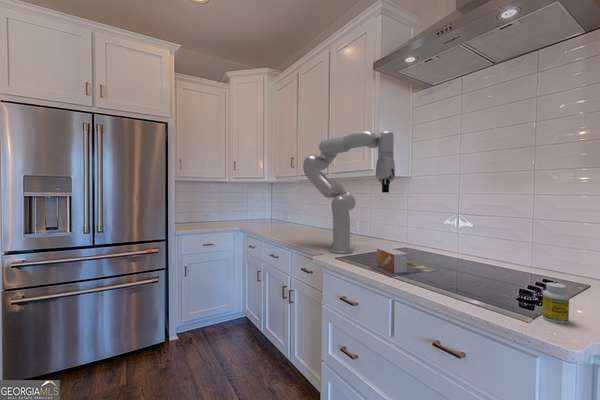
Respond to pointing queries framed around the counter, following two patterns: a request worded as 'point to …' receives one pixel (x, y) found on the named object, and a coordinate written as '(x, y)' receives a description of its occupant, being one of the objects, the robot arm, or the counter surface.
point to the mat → (386, 272)
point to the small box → (392, 260)
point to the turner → (420, 267)
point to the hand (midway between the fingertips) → (385, 192)
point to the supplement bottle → (556, 303)
